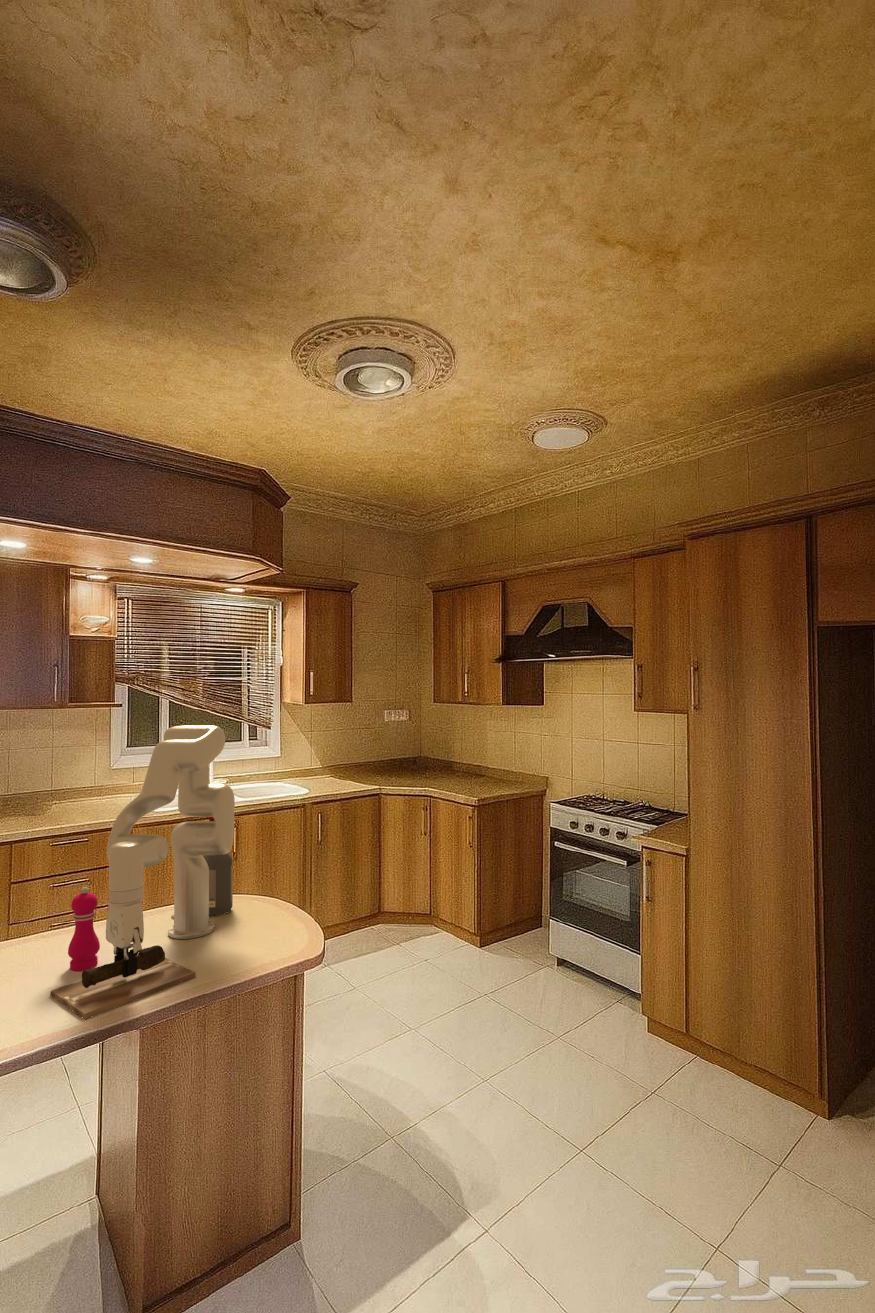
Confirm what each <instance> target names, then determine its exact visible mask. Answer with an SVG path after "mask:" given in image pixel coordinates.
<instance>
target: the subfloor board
mask: <svg viewBox="0 0 875 1313" xmlns="http://www.w3.org/2000/svg"><path fill="white" fill-rule="evenodd" d="M196 976H197V973H196V972H195V971H194V970H191V969H190V968H188V967H185V966H183V965H182V964H180V963H177V962H175V961H173V960H171V959H169V958H166V957H165V960H164V961H163V962H161V963H159V964H158V965H155V966H153V967H152V968H149V969H147V970H141V969H138V970H137V973H136V974H134V975H131V976H128V977H125V978H124V977H123V976H122V975H119V976H117V977H113V978H110V979H107V980H105V981H102V982H99V983H96V985H95V986H94V985H91V986H89V987H88V988H85V987H84V986H83V984H82V979H80V980H78V981H76V982H71V983H68V984H67V985H63V986H59V987H57V988H54V989H52V990H50V997H51V996H52V997H51V998H53V999H54V1000H56V1001H57V1002H59V1003H60V1004H61V1003H62V1005H63V1006H64V1005H65V1006H64V1007H66V1006H67V1007H68V1008H67V1007H66V1008H67V1009H68V1010H70V1009H71V1010H73V1011H74V1012H75V1014H76V1013H77V1014H78V1015H77V1014H76V1015H77V1016H79V1015H80V1016H81V1017H83V1018H84V1019H85V1020H88V1019H90V1018H89V1017H91V1016H93V1017H96V1016H98V1014H99V1015H100V1014H104V1013H106V1012H109V1011H111V1010H114V1009H117V1008H119V1007H122V1006H124V1005H127V1004H130V1003H133V1002H135V1001H138V1000H140V999H143V998H145V997H147V996H151V995H154V994H156V993H158V992H161V991H163V990H166V989H169V988H171V987H174V986H177V985H179V984H182V983H185V982H187V981H190V980H192V979H195V978H196ZM137 999H138V1000H137ZM134 1000H135V1001H134ZM132 1001H133V1002H132ZM71 1010H70V1011H71ZM73 1011H72V1012H73ZM74 1012H73V1013H74ZM95 1015H96V1016H95ZM80 1016H79V1017H80ZM83 1018H82V1019H83ZM87 1018H88V1019H87ZM91 1018H92V1017H91ZM84 1019H83V1020H84Z"/></svg>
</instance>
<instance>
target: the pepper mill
mask: <svg viewBox="0 0 875 1313" xmlns="http://www.w3.org/2000/svg"><path fill="white" fill-rule="evenodd" d="M89 890H90V889H89V887H88V886H83V887H82V888H81V889H80V892H81V893H78V894H77V895H76V896H74V897H73V899H72V900H71V905H70V906H71V907H70V908H71V910H72V911H73V918H72V920H73V921H74V923H75V927H74V928H75V929H74V933H73V936H72V938H71V940H70V942H69V945H68V949H67V955H68V957H69V958H71V960H70V961H69V969H70V971H73V972H82V971H83V970H90V969H93V968H96V967H97V965H98V962H99V961H98V955H97V954H98V952H99V951H100V949H101V948H100V947H101V946H100V944H101V943H100V940H99V937H98V936H97V933H96V931H95V928H94V918H95V917H96V910H95V909H96V908H97V906H98V902H99V900H98V896H97V895H96V894H95V893H92V892H89Z"/></svg>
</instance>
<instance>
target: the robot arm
mask: <svg viewBox="0 0 875 1313" xmlns="http://www.w3.org/2000/svg"><path fill="white" fill-rule="evenodd" d="M163 733H164V734H163V740H162V741H159V742H158V743H157V744H156V745H155V746H154V748H153V750H152V752H151V753H152V754H151V756H150V761H149V764H148V768H147V771H146V775H145V778H144V781H143V785H142V789H141V790H140V793H139V794H138V795H137V796H136V797H134V798H133V799H132V800H131V801H130V802H129V803H128V804H127V805H126V806H125V807H124V808H123V809H122V810H121V811H120V812H119V814H118V815H117V817H116V818H115V820H114V822H113V825H112V827H111V831H110V835H109V838H108V842H107V845H106V857H107V859H108V905H107V912H106V922H105V940H106V941H107V942H108V943H110V944H112V946H113V956H114V957H113V960H114V961H113V962H116V961H119V960H122V959H124V960H123V971H122V976H123V977H124V978H125V977H128V976H131V975H134V974H136V973H137V957H138V953H139V952H140V951H141V950H142V949H143V946H142V944H143V941H144V938H145V937H144V931H145V930H144V929H145V926H144V908H143V900H144V869H145V868H149V867H153V866H156V865H159V864H161V863H162V862H163V861H164V860H165V859H166V857H167V855H168V853H169V849H170V846H171V851H172V855H173V865H174V867H173V868H174V869H173V870H174V871H173V872H174V873H173V878H174V880H173V882H174V886H173V888H174V891H173V892H174V893H173V896H174V898H173V899H174V900H173V905H174V906H173V909H174V910H173V914H172V915H171V916H170V919H171V920H173V925H172V926H171V927H169V928H168V931H167V933H168V934H167V935H168V936H169V937H170V938H172V939H177V940H188V939H189V940H191V939H196V938H200V937H204V936H207V935H209V934H210V933H213V931H214V930H215V923H214V922H213V921H212V920H211V921H210V917H209V867H208V864H207V862H206V860H205V858H204V857H203V855H224V854H227V853H230V851H231V850H232V847H233V845H234V837H235V807H236V806H235V795H234V791H233V788H232V787H231V786H230V785H228V784H226V783H225V784H224V783H211V782H210V764H211V763H212V762H213V761H214V760H215V759H216V758H217V757H218V756H219V755H220V754H221V753H222V751H223V750H224V747H225V744H226V735H225V732H224V730H223V729H222V728H221V727H220V726H218V725H176V726H171V727H169V728H167V729H166V730H165V731H164V732H163ZM177 794H178V795H177ZM176 795H177V807H178V812H179V813H180V814H181V815H182V816H184V817H191V818H193V817H194V818H197V817H198V818H199V817H200V818H201V817H203V818H209V817H214V821H215V822H214V821H209V820H207V821H205V820H204V821H201V820H197V821H194V820H190V821H183V822H180V823H178V824H177V825H175V827H174V828H173V829H172V831H171V835H170V845H169V841H168V840H167V838H166V837H165V836H162V835H160V834H154V833H153V834H148V833H147V834H144V833H141V834H140V833H131V831H132V829H133V827H134V826H135V825H136V823H137V822H138V821H139V820H140V819H141V818H143V817H145V816H146V815H148V814H149V813H151V812H154V811H155V810H158V809H160V808H163V807H164V806H167V805H169V804H170V803H172V802H173V801H174V800H175V798H176ZM129 949H130V950H129Z"/></svg>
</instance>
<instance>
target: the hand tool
mask: <svg viewBox="0 0 875 1313" xmlns="http://www.w3.org/2000/svg"><path fill="white" fill-rule="evenodd" d="M165 958H166V952H165V949H164V948H163V947H162V946H161V945H159V944H157V945H156V944H155V945H152V946H150V947H144V948H142V950H141V951H140V952H139V953H138V957H137V970H138V969H141V970H147V969H149V968H152V967H153V966H155V965H158V964H159V963H161V962H163V961H164V960H165ZM123 960H124V959H122V960H119V961H116V962H114V961H113V962H110V963H106V964H103V965H100V966H95V967H93V968H91V969H88V970H83V971H81V980H82V984H83V986H84V987H85V988H88V987H89V986H91V985H94V986H95V985H96V983H99V982H102V981H105V980H107V979H110V978H113V977H117V976H119V975H122V971H123Z"/></svg>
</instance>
